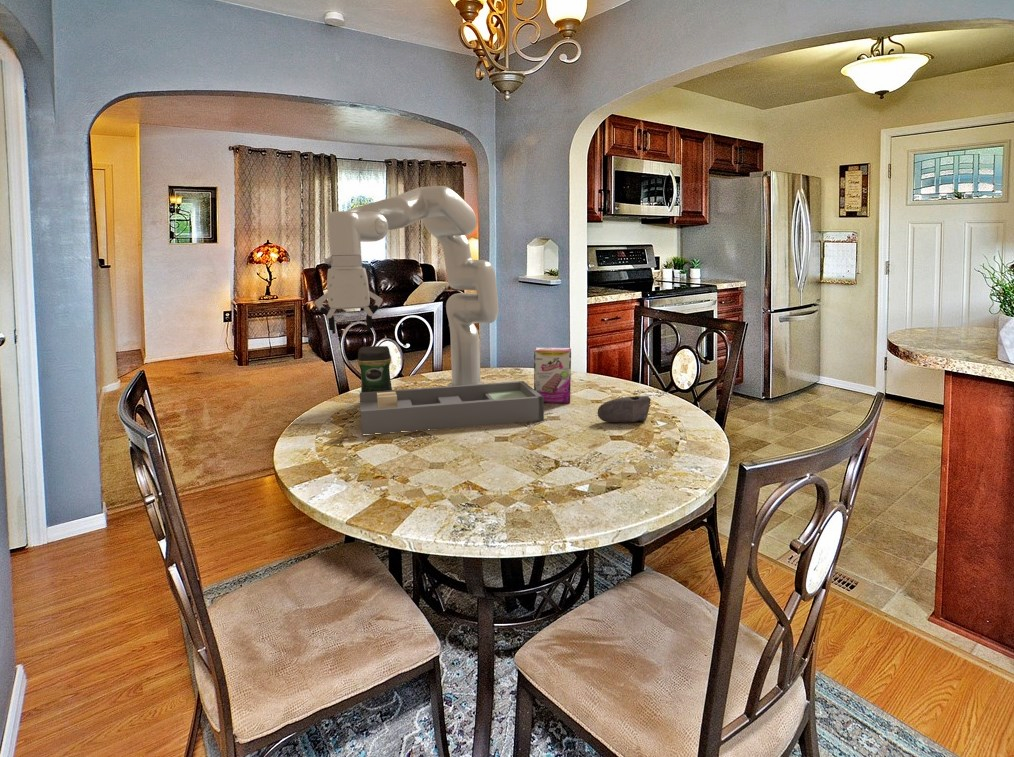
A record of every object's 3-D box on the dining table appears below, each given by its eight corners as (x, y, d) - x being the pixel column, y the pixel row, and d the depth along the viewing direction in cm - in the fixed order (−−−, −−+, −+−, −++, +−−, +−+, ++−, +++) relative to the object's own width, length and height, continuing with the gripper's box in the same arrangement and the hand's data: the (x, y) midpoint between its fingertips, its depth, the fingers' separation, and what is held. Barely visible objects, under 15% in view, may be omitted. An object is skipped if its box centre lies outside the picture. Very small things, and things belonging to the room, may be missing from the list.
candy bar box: (533, 403, 188) (533, 350, 184) (534, 399, 192) (534, 347, 189) (570, 403, 186) (571, 350, 183) (570, 399, 191) (571, 347, 188)
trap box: (361, 414, 179) (359, 392, 177) (523, 401, 190) (523, 380, 188) (362, 436, 159) (360, 411, 157) (543, 420, 170) (543, 397, 169)
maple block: (377, 410, 167) (376, 392, 166) (396, 409, 168) (395, 391, 167) (378, 415, 162) (377, 397, 161) (398, 414, 163) (397, 395, 162)
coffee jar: (395, 403, 190) (391, 343, 186) (392, 410, 183) (389, 348, 179) (363, 404, 190) (359, 344, 185) (359, 411, 182) (355, 349, 178)
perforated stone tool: (599, 426, 164) (599, 400, 163) (595, 420, 170) (595, 395, 168) (654, 423, 166) (655, 398, 164) (648, 418, 171) (649, 393, 169)
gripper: (309, 264, 149) (315, 336, 153) (382, 262, 153) (386, 332, 157) (310, 263, 156) (316, 331, 160) (381, 261, 160) (385, 328, 164)
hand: (351, 331), depth 159 cm, fingers open, 8 cm apart
